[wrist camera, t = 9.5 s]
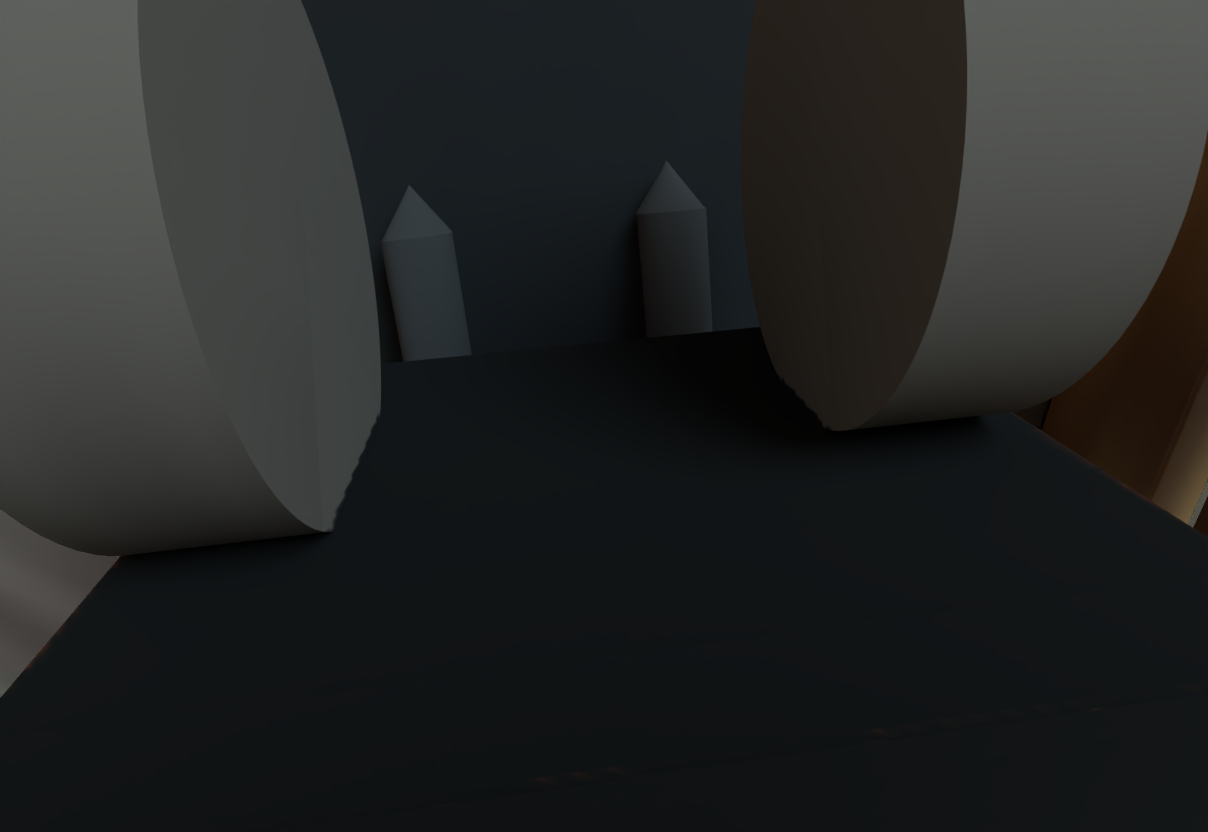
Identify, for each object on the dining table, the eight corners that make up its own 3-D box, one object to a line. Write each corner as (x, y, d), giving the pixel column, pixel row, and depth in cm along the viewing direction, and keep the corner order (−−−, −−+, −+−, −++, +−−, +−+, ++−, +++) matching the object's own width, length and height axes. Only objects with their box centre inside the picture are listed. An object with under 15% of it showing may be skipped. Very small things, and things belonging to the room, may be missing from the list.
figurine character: (217, 62, 8) (439, 970, 13) (-1975, -1003, 1) (362, 1964, 6) (772, 18, 9) (791, 893, 13) (1973, -783, 2) (1126, 1687, 6)
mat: (781, 935, 15) (788, 955, 15) (295, 1001, 14) (290, 1026, 13) (1084, -254, 7) (1114, -272, 7) (8, -434, 6) (-26, -473, 5)
